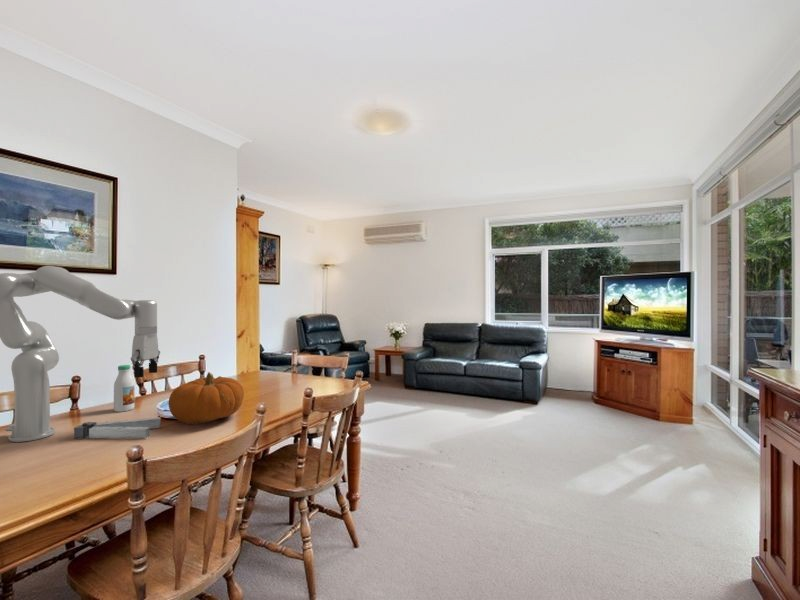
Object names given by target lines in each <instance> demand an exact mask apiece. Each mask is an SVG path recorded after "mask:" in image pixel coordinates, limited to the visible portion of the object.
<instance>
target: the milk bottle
mask: <svg viewBox="0 0 800 600" xmlns="http://www.w3.org/2000/svg"><path fill="white" fill-rule="evenodd" d="M117 371H118V372H117V373H118V374H117V377H116V378H115V380H114V384H113V410H114V411H113V412H116V413H118V412H119V413H122V412H127V411H128V412H129V411H132V410H134V409H135V381H134V378H133V376H132V374H131V365H130V364H122V365H121V364H120V365H118V366H117Z"/></svg>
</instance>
